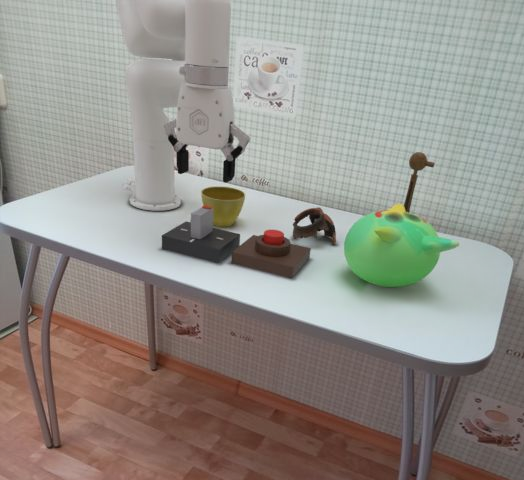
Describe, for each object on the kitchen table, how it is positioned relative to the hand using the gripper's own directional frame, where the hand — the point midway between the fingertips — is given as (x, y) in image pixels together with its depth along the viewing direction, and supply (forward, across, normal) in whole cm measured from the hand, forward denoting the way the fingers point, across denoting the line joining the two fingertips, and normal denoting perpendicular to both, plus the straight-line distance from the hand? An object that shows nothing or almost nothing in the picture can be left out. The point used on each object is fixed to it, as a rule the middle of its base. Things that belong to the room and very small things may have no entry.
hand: (205, 176), depth 99 cm
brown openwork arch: (+15, +18, +19) cm, 30 cm away
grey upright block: (+12, -1, 0) cm, 12 cm away
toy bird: (+16, +37, +5) cm, 41 cm away
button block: (+15, +14, +2) cm, 21 cm away
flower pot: (+15, -4, +16) cm, 22 cm away
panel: (+15, -1, 0) cm, 15 cm away
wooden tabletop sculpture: (+15, +36, +31) cm, 50 cm away
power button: (+11, +14, +2) cm, 18 cm away
